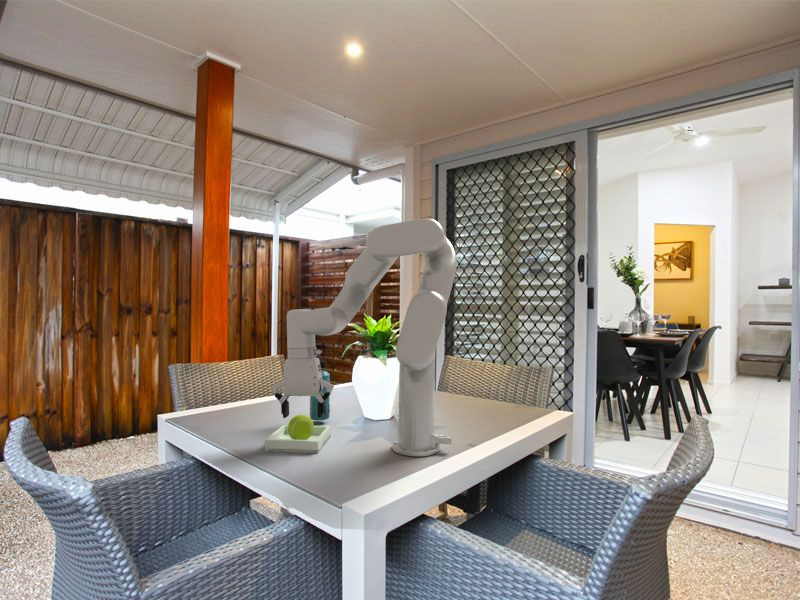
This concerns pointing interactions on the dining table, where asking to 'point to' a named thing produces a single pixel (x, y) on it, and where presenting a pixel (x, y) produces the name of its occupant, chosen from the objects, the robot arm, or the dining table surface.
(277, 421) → the dining table surface
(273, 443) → the tray
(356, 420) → the dining table surface
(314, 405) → the beverage bottle
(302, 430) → the tennis ball
